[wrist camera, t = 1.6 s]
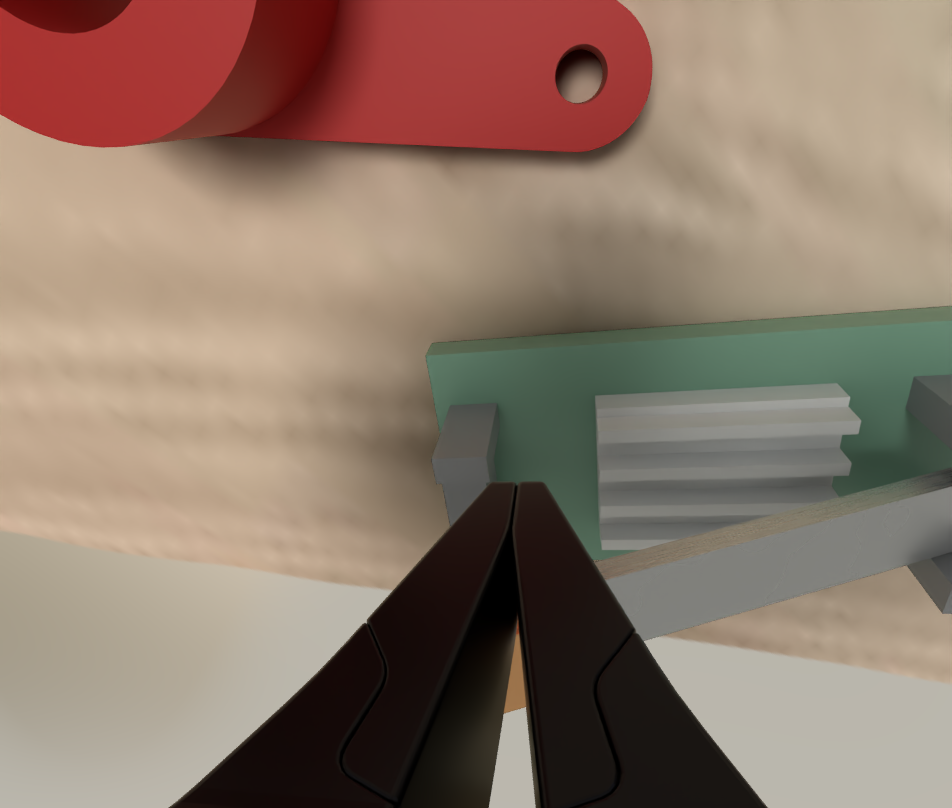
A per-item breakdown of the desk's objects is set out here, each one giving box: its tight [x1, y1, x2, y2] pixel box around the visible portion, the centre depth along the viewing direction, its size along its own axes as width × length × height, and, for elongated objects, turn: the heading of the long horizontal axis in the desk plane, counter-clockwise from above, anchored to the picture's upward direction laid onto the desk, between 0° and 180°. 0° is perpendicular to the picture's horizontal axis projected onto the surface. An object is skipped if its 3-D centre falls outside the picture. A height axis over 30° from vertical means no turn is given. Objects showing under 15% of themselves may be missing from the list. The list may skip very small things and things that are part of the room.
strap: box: [504, 467, 952, 713], centre depth 16 cm, size 18×3×2 cm, turn 97°
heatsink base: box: [426, 306, 952, 614], centre depth 20 cm, size 19×10×6 cm, turn 97°
